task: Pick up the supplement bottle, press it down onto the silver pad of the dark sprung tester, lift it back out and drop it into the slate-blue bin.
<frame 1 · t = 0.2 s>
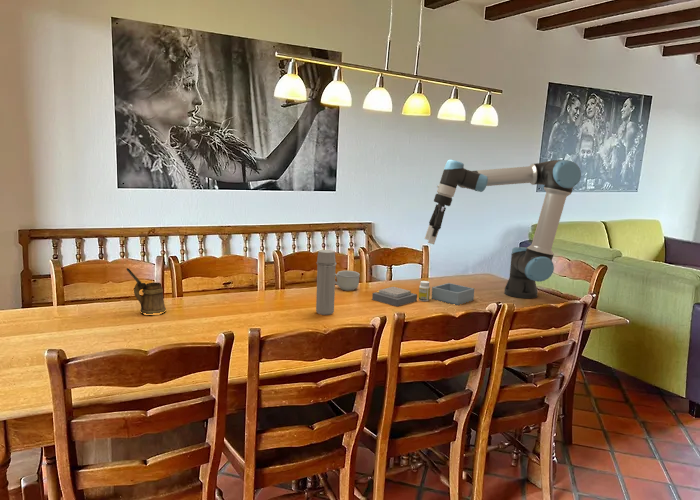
hand: (429, 241, 225), 26 cm above the table, tool pointing down, fingers open, 13 cm apart
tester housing: (394, 300, 226), on the table
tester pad: (394, 293, 226), point 3 cm above the table, slide at 0.0 cm
teacup: (344, 289, 243), on the table
wooden mug: (147, 313, 194), on the table
supplement bottle: (423, 300, 229), on the table
bin: (452, 299, 231), on the table
water bottle: (324, 314, 202), on the table
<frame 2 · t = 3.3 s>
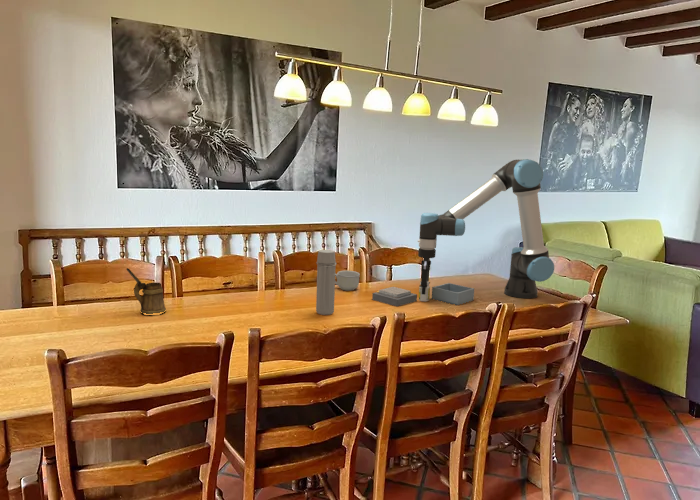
hand: (423, 299, 229), 0 cm above the table, tool pointing down, fingers closed on supplement bottle, 5 cm apart
supplement bottle: (423, 300, 229), on the table, touching gripper
everything else where it was.
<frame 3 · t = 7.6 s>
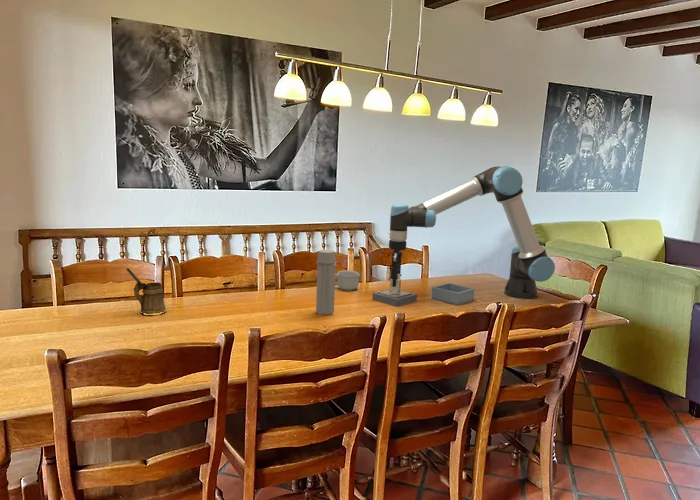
hand: (394, 292, 226), 4 cm above the table, tool pointing down, fingers closed on supplement bottle, 5 cm apart
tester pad: (394, 295, 226), point 2 cm above the table, slide at -1.0 cm, touching supplement bottle
supplement bottle: (394, 293, 226), point 3 cm above the table, touching gripper, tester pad
everything else where it was.
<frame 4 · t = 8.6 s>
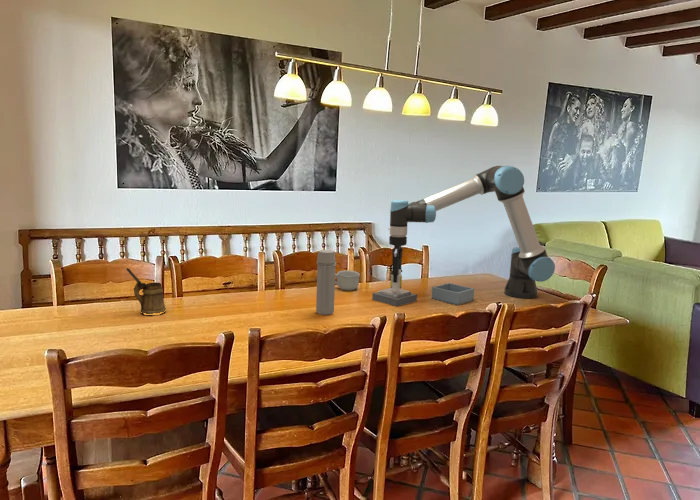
hand: (396, 287, 225), 6 cm above the table, tool pointing down, fingers closed on supplement bottle, 5 cm apart
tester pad: (394, 294, 226), point 3 cm above the table, slide at -0.2 cm
supplement bottle: (395, 289, 225), point 5 cm above the table, touching gripper
everything else where it was.
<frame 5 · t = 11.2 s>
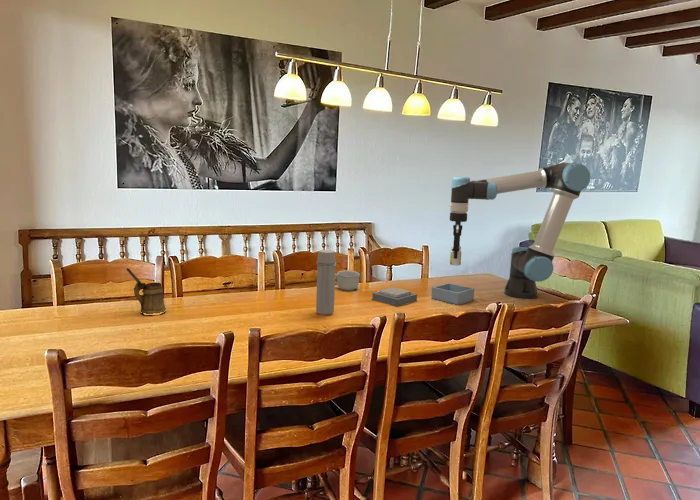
hand: (455, 264, 228), 16 cm above the table, tool pointing down, fingers closed on supplement bottle, 5 cm apart
supplement bottle: (455, 265, 228), point 16 cm above the table, touching gripper
everything else where it was.
when the fingers open (7 cm above the table, at t = 13.2 s): supplement bottle drops 6 cm, resting on bin.
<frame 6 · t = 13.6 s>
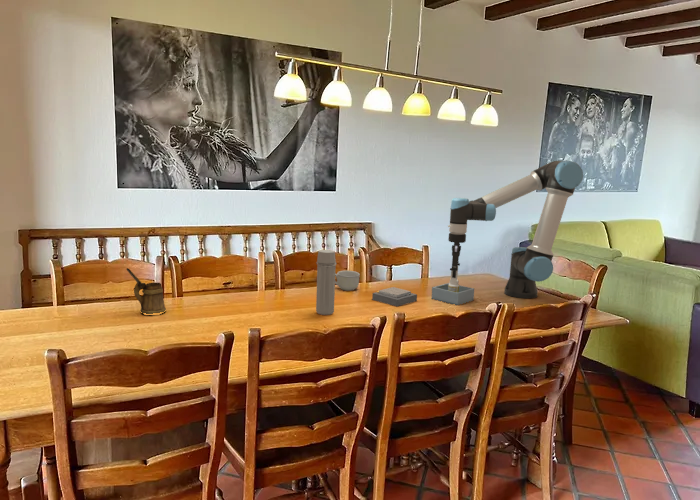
hand: (453, 282, 230), 8 cm above the table, tool pointing down, fingers open, 10 cm apart
supplement bottle: (452, 298, 232), resting on bin
everything else where it was.
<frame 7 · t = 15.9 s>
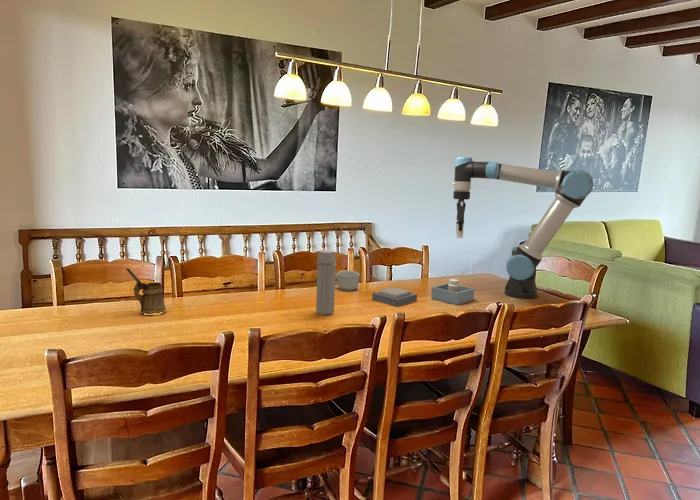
hand: (459, 236, 240), 27 cm above the table, tool pointing down, fingers open, 13 cm apart
nothing on the table moved.
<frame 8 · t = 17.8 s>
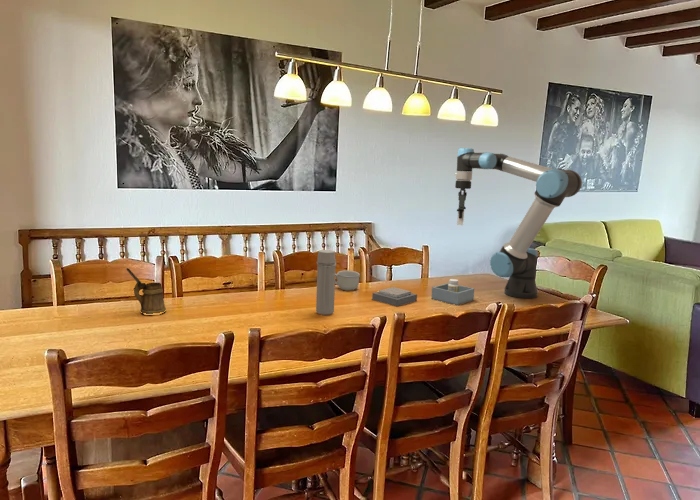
hand: (460, 223, 253), 32 cm above the table, tool pointing down, fingers open, 13 cm apart
nothing on the table moved.
at the end: supplement bottle inside the target area on the bin (0.6 cm from its centre), point 0.4 cm above the bin's base; the gripper is holding nothing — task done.
